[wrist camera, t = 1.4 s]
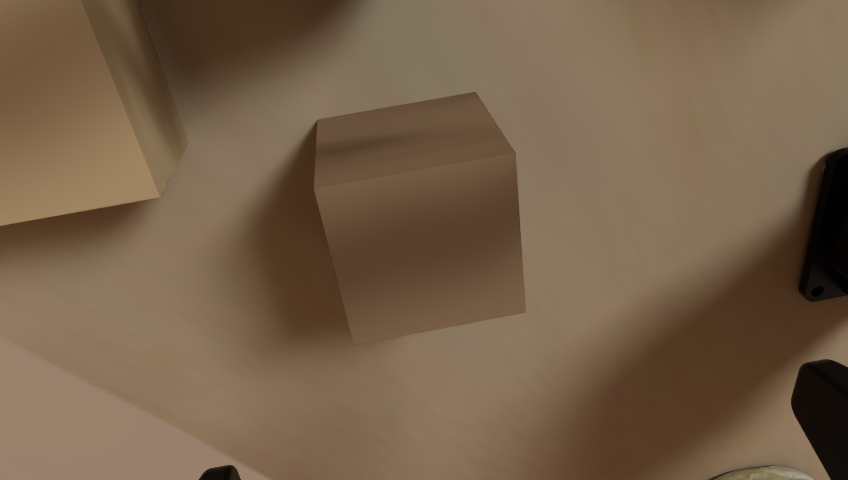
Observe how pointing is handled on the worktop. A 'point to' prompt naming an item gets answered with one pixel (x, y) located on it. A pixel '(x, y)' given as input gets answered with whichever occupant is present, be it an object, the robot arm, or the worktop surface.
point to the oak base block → (81, 109)
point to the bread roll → (765, 474)
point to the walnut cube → (420, 216)
